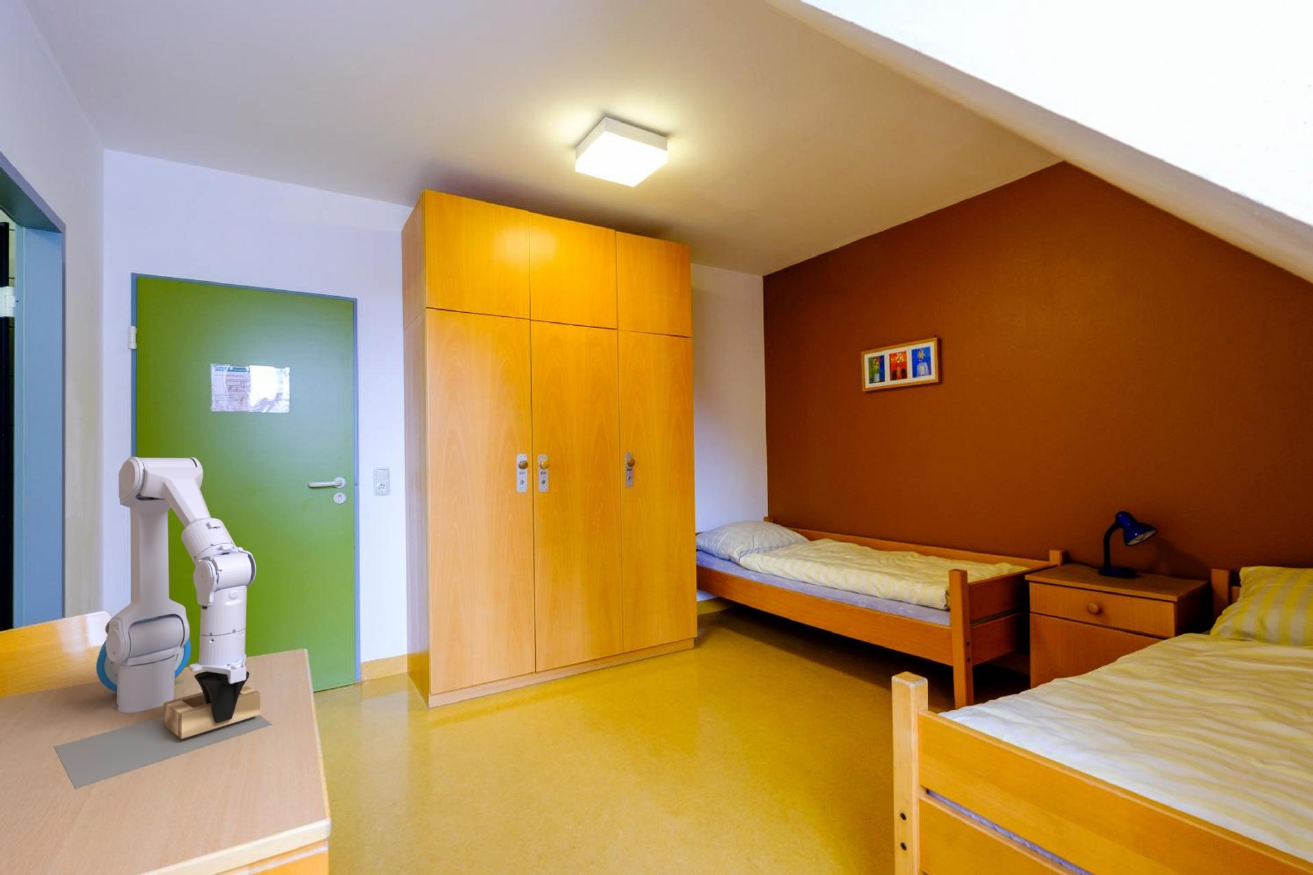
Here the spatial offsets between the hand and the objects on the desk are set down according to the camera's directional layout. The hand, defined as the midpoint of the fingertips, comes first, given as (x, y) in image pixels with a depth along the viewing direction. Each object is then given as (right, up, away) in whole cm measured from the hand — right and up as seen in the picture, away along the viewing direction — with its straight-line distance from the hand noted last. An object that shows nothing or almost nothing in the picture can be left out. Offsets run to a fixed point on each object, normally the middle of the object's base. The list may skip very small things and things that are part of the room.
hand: (220, 718), depth 88 cm
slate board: (-7, -3, -2) cm, 7 cm away
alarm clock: (-29, -4, +18) cm, 34 cm away
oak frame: (-3, -1, +2) cm, 4 cm away
